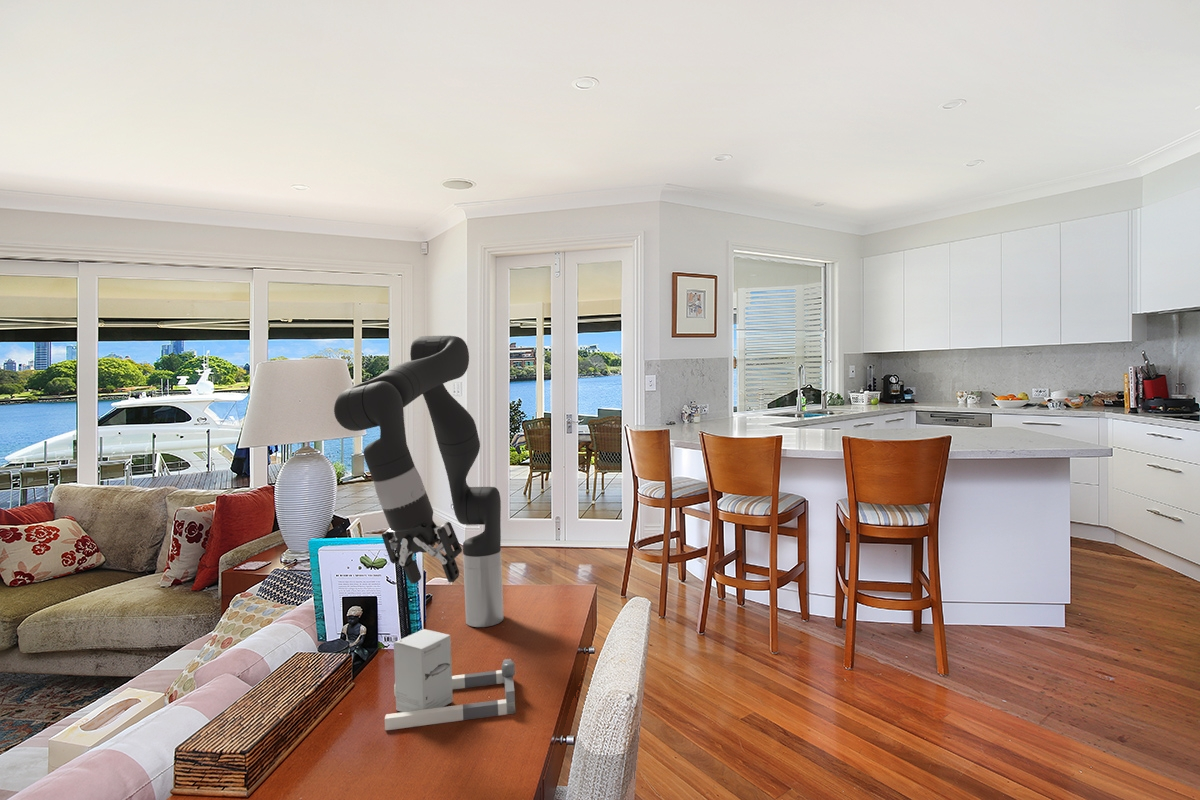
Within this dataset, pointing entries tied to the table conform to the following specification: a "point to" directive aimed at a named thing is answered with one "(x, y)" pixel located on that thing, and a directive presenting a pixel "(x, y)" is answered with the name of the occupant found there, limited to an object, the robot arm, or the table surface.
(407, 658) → the supplement box
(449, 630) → the table surface
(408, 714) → the guide channel
